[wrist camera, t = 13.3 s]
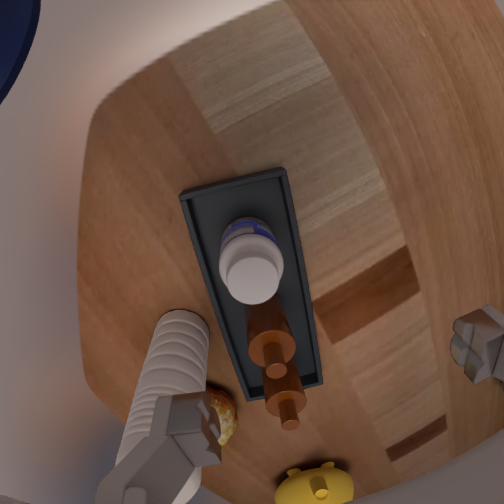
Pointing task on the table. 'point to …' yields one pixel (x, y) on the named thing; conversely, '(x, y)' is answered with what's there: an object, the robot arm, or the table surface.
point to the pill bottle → (250, 260)
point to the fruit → (223, 412)
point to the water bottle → (169, 379)
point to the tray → (290, 285)
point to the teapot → (315, 486)
